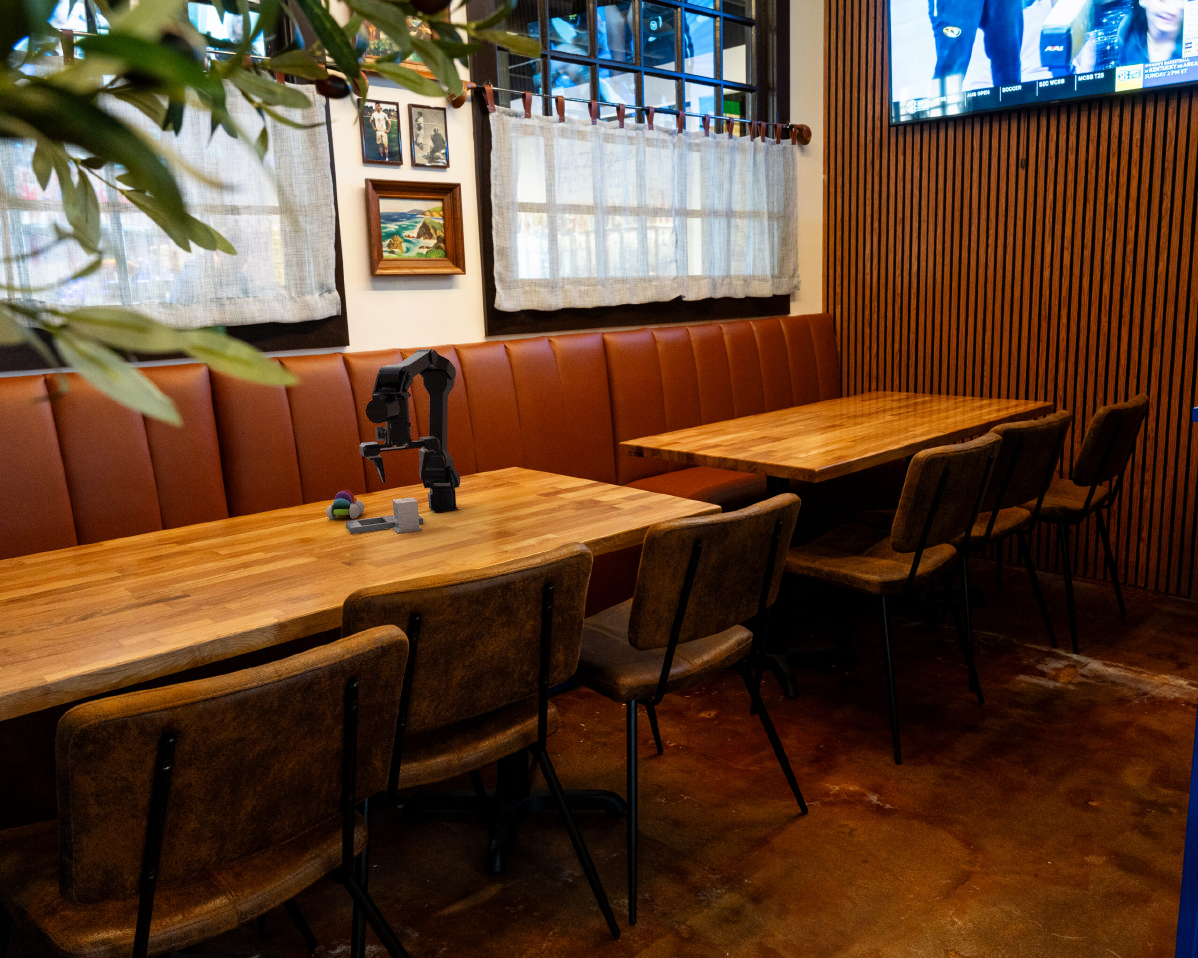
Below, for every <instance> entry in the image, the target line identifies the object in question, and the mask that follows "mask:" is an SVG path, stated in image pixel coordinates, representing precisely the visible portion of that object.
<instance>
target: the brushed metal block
mask: <svg viewBox="0 0 1198 958" xmlns="http://www.w3.org/2000/svg"><path fill="white" fill-rule="evenodd" d="M392 507H393V509H392V510H393V511H392V512H393V515H394V523H395V528H396V529H397V530H398V531H407V530H414V529H419V527H420V525H419V516H420V515H419V505H418V500H417V499H415V498H414V497H406V498H405V497H403V498H398V499H397V498H396V499H392ZM418 515H419V516H418Z"/></svg>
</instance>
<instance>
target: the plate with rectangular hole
mask: <svg viewBox="0 0 1198 958" xmlns="http://www.w3.org/2000/svg"><path fill="white" fill-rule="evenodd" d="M418 516H419V526H420V525H424V518H423V517H422V516H421V515H419V514H418ZM344 524H345V529H347V531H348V532H349V533H350V534H351V535H352V534H353V535H355V534H359V533H360V534H361V533H367V532H374V531H381V530H382V531H383V530H390V529H392V527H395V523H394V514H392V515H386V516H378V517H370V518H362V519H352V520H348V521H345V523H344Z"/></svg>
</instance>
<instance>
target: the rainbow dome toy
mask: <svg viewBox="0 0 1198 958" xmlns="http://www.w3.org/2000/svg"><path fill="white" fill-rule="evenodd" d="M325 509H326V510H325V514H326V516H327V518H328V519H330V520H336V518H337V516H338V517H340V516H346V515H348V516H350V518H351V519H352V520H356V519H357V518H358V516H360V515H363V513H364V512H365V505H364V503H363V501H361V500H357V497H356V496H355V495H354V494H353V492H352V491H351V490H349V489H343V490H341V491H339V492H337V493H336V495H335V496H334V500H333V503H332V504H330V505H329V506H327V507H326V508H325Z"/></svg>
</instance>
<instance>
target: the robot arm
mask: <svg viewBox="0 0 1198 958" xmlns="http://www.w3.org/2000/svg"><path fill="white" fill-rule="evenodd" d="M417 375H420V377H421V378H422V381H423V382H422V383H423V387H424V388H425V390H426V392H427V394H428V395H429V397H428V398H429V401H428V403H429V404H428V405H429V407H428V409H429V410H428V411H429V412H428V414H429V415H428V436H420V437H418V440H414V441H413V438H412V430H411V427H412V425H411V424H412V423H411V419H410V418H411V415H410V404H409V398H411V396H412V394H411V393H410V392H409V389H410V387H411V386H412V384H414V378H415V377H417ZM456 376H457V370H456V367H455V365H454V364H453V363H452V362H451V360H450V359H448V358H446V357H445V356H443V355H442V354H439V353H438V352H437V350H435V349H433V348H431V349H430V348H429V349H425V348H424V349H423V348H422V349H418V350H416V351H414V353H413V354H411V355H410V356H408V357H406V358H405V359H404V360H402V361H400V362H399V363H396V364H395V363H394V364H388V365H383V366H381V367H380V368H379V369H378V372H377V374H376V378H375V381H374V386H373V390H372V393H371V398H372V399H371V400H370V401H369V402H368V403H367V405H366V408H365V414H366V418H367V419H368V420H369V421H370V422H371V423H373V424H377V425H378V424H383V423H385V428H384V426H376V427H375V428H374V430H375V440H376V441H370V442H361V443H360V444H359V447H358V448H359V455H361V457H364V458H367V459H368V460H369V461H372V462H373V464H374V466H375V468H376V470H377V473H378V475H379V477H380V480H381V482H382V483H383V484H386V473H385V468H384V461H383V457H382V456H381V455H380V454H381V453H385V452H386V453H387V452H394V451H404V450H412V449H413V450H414V449H418V455H419V456H418V457H419V460H418V461H419V464H418V466H419V467H418V468H419V469H418V470H419V472H418V473H419V479H420V480H421V481H422V483H423V484H422V485H423V488H424V489H429V492H428V493H427V498H428V508H429V509H430V510H431V511H432V512H433V513H436V514H437V513H443V512H444V513H445V512H449V511H450V512H451V511H458V510H459V507H457V499H456V498H457V497H456V488H460V486H461V477H460V475H459V472H457V470H456V468H455V466H454V459H453V457H452V456H451V454H450V453H449V451H448V422H449V421H448V417H449V415H448V413H449V412H448V411H449V408H448V407H449V406H448V404H449V395H450V393H451V392H452V390H453V388H454V387H455V379H456ZM378 441H383V443H382V444H380V443H378Z"/></svg>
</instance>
